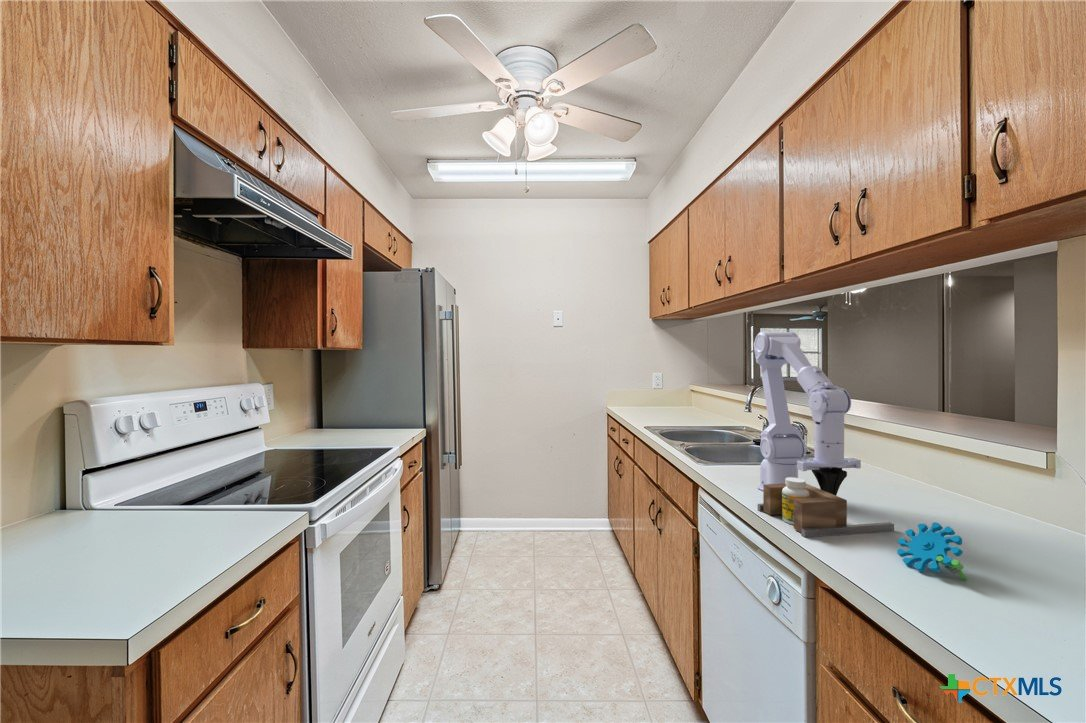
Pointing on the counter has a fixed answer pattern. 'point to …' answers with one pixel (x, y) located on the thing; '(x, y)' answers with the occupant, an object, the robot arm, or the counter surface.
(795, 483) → the supplement bottle
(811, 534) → the guide rails
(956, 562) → the gear
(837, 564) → the counter surface
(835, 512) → the housing
